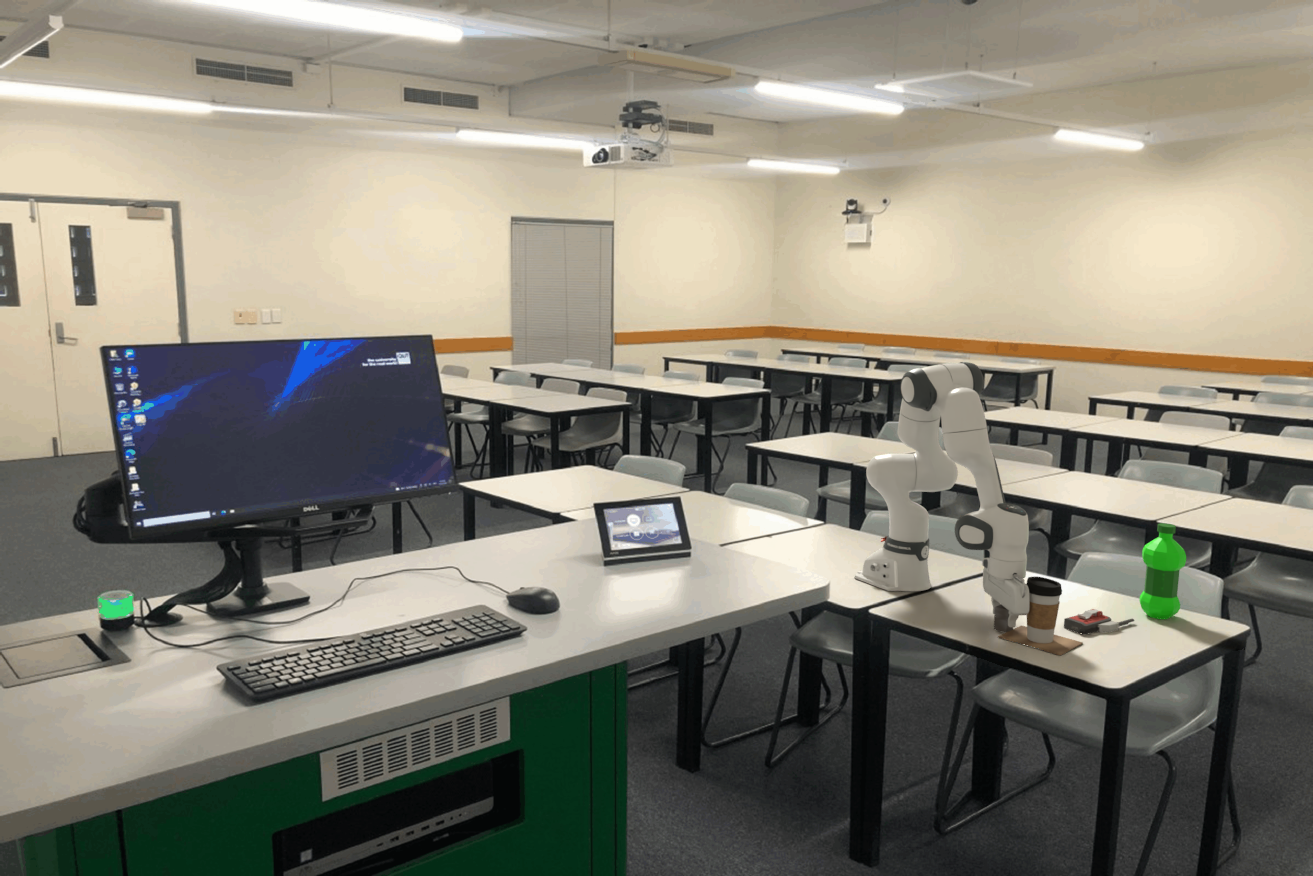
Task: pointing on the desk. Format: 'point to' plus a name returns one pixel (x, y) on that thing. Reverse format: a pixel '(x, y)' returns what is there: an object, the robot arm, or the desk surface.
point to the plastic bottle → (1162, 574)
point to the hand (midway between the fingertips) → (1003, 620)
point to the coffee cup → (1042, 608)
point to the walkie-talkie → (1092, 622)
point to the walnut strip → (1020, 635)
